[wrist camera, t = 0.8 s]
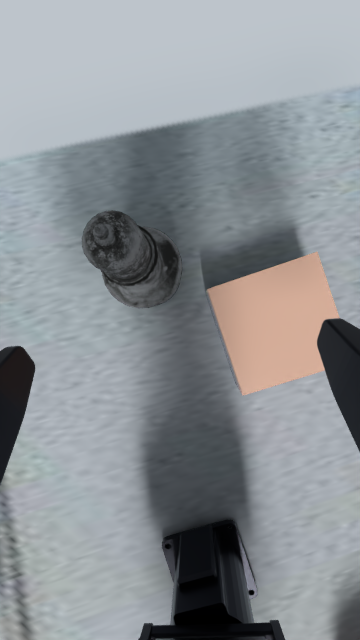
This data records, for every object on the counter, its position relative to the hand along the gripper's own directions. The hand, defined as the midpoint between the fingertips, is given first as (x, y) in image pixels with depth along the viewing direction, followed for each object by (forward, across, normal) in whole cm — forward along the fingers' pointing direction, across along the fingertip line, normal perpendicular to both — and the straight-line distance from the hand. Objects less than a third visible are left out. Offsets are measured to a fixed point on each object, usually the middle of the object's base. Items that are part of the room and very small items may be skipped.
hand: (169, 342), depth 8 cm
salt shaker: (+14, +3, +6) cm, 16 cm away
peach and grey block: (+11, -7, +10) cm, 16 cm away
